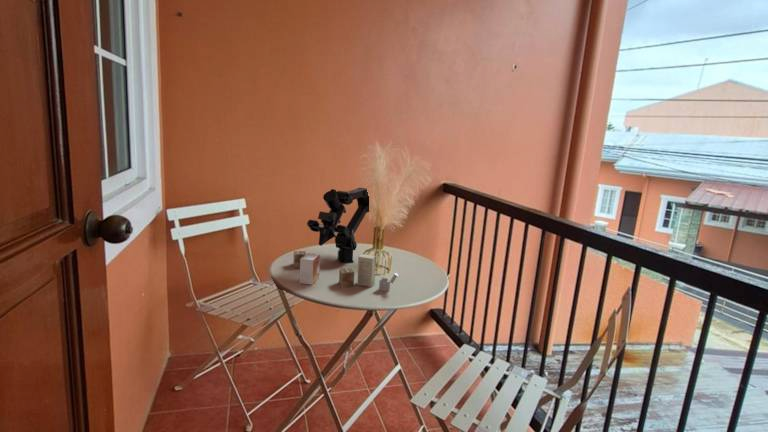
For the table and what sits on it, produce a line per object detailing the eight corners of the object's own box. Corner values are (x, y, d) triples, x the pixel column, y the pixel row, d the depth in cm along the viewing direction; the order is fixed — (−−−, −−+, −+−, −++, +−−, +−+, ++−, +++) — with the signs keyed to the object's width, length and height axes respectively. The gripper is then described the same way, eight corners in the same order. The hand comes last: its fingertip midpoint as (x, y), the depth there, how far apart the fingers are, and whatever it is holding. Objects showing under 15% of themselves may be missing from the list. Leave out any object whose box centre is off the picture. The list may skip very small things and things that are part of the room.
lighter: (378, 290, 158) (380, 271, 156) (379, 288, 159) (381, 270, 157) (396, 293, 156) (397, 274, 154) (397, 291, 158) (398, 272, 156)
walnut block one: (350, 281, 164) (351, 267, 163) (353, 286, 160) (354, 272, 158) (338, 282, 163) (339, 268, 161) (341, 287, 158) (342, 272, 157)
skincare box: (374, 283, 164) (376, 255, 161) (371, 287, 160) (373, 258, 157) (360, 280, 166) (362, 253, 163) (356, 284, 162) (358, 256, 159)
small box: (312, 285, 158) (313, 260, 155) (299, 283, 159) (299, 258, 157) (319, 278, 166) (320, 254, 163) (307, 276, 167) (307, 252, 164)
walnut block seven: (304, 263, 181) (305, 250, 180) (306, 267, 177) (306, 254, 175) (293, 263, 180) (293, 250, 178) (294, 267, 175) (295, 254, 174)
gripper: (309, 201, 170) (293, 231, 162) (347, 207, 163) (332, 239, 155) (319, 215, 179) (304, 244, 171) (355, 222, 172) (341, 253, 164)
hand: (319, 245), depth 165 cm, fingers closed
